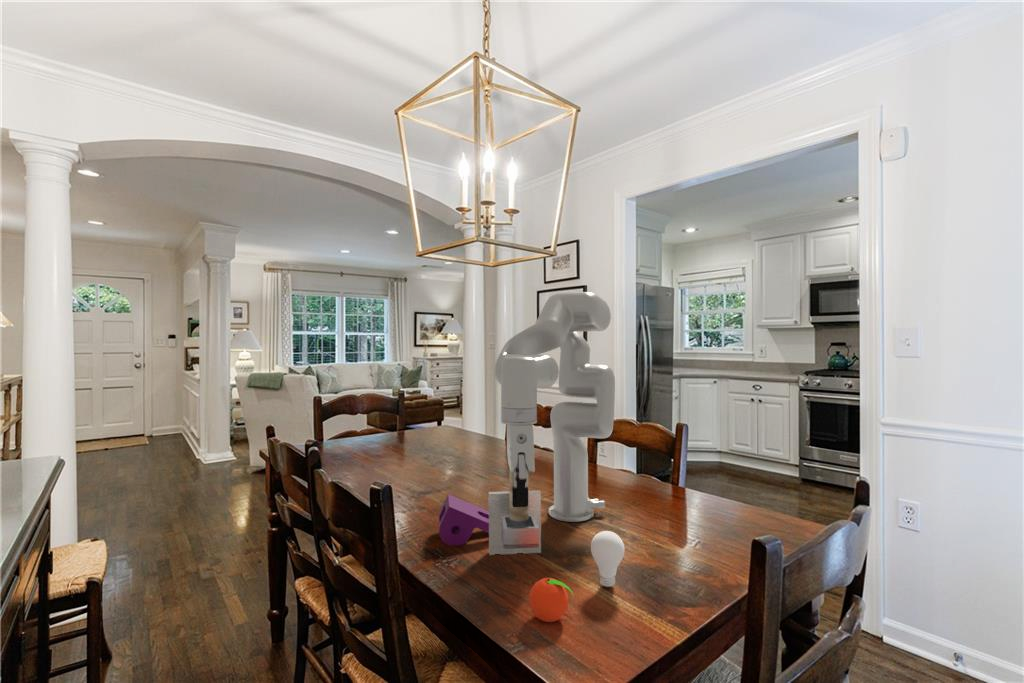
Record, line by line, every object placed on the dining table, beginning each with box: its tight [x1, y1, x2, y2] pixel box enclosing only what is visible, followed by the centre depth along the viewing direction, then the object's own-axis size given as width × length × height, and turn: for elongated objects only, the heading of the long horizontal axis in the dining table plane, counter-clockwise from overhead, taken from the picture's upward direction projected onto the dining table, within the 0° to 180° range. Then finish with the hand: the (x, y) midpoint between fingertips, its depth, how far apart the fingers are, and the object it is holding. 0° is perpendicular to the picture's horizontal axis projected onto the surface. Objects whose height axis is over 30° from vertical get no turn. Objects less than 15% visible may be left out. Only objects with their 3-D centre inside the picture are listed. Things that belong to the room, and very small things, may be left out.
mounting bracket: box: [438, 493, 489, 547], centre depth 122 cm, size 10×8×18 cm
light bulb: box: [590, 530, 626, 588], centre depth 97 cm, size 7×7×11 cm
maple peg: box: [508, 466, 530, 521], centre depth 102 cm, size 4×4×12 cm
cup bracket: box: [488, 489, 542, 556], centre depth 106 cm, size 12×15×14 cm
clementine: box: [528, 577, 575, 623], centre depth 86 cm, size 8×7×7 cm
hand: (519, 501), depth 102 cm, fingers closed on maple peg, 4 cm apart
